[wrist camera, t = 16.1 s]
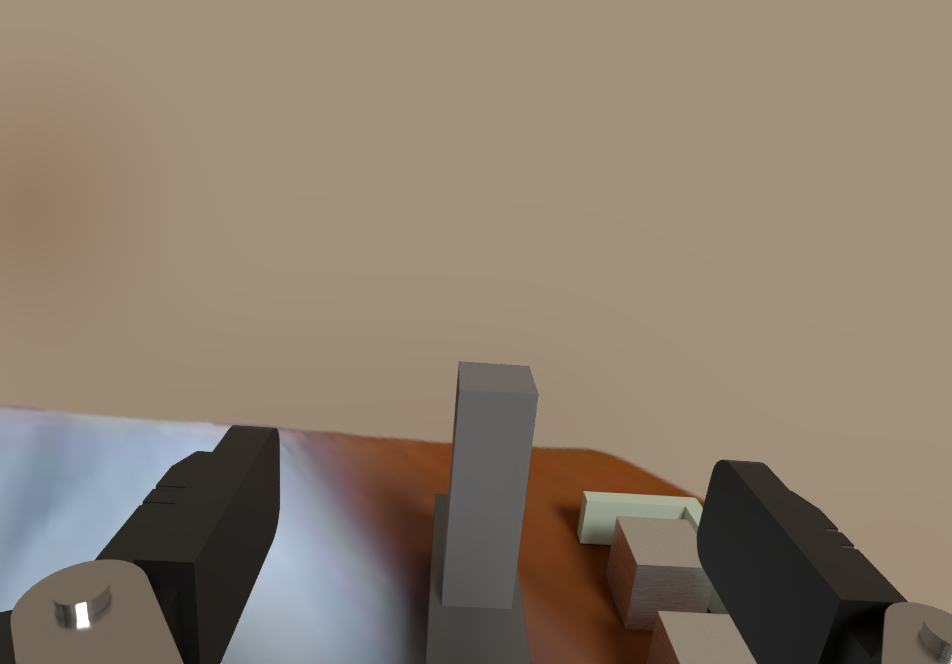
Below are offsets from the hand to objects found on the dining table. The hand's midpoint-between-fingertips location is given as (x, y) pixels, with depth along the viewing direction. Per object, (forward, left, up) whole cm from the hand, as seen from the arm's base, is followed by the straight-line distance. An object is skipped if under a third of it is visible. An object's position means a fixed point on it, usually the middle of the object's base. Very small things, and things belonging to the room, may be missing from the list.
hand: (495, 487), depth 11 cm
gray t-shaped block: (+1, +13, -17) cm, 21 cm away
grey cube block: (+11, +17, -17) cm, 26 cm away
